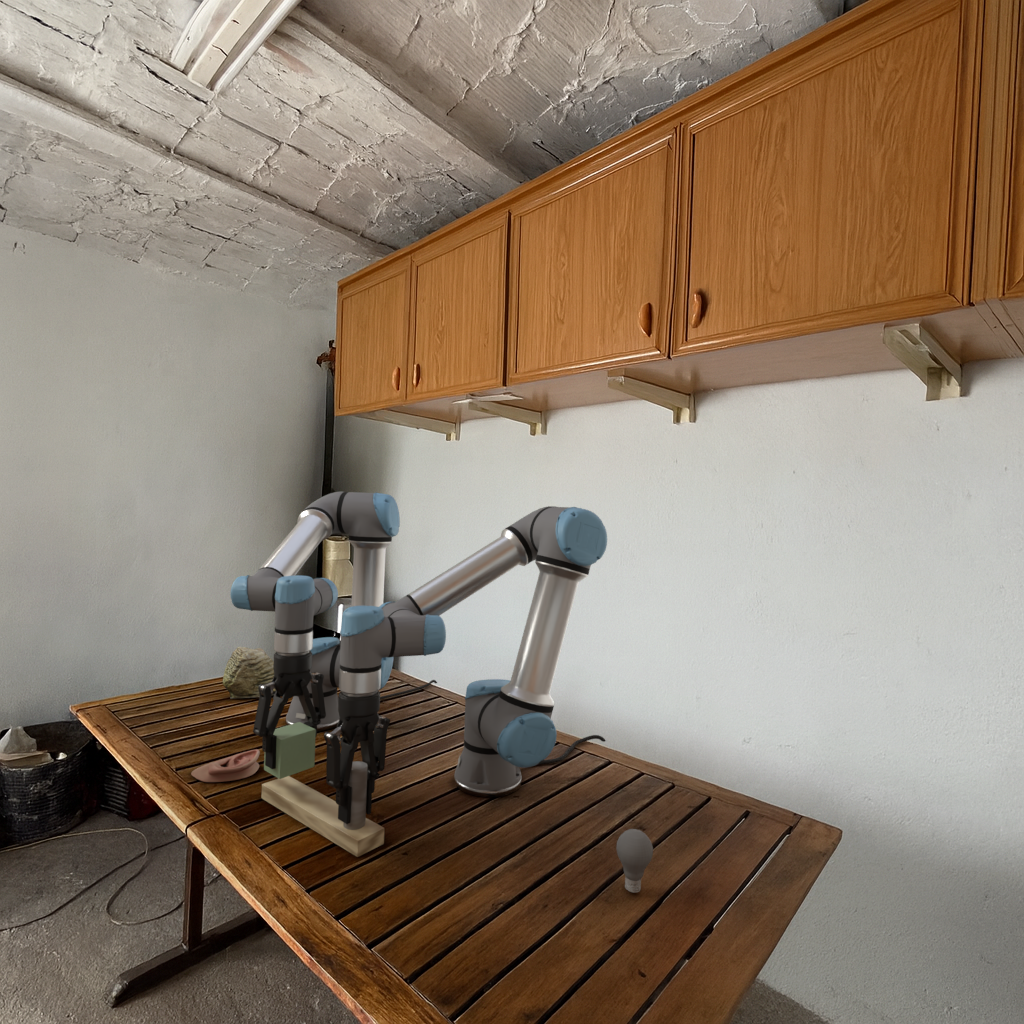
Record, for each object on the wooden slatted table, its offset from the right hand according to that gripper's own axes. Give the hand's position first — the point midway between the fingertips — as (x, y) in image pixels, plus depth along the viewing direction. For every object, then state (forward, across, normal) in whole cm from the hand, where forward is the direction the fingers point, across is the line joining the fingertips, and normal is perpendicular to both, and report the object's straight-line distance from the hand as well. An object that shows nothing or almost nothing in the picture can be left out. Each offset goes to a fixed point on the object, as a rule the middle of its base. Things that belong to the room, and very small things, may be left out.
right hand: (354, 815), depth 117 cm
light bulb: (+5, -22, +46) cm, 51 cm away
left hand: (-4, 0, -22) cm, 23 cm away
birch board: (+5, 0, -11) cm, 12 cm away
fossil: (+5, -31, -90) cm, 96 cm away
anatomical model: (+5, +2, -44) cm, 44 cm away
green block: (-2, 0, -22) cm, 22 cm away
